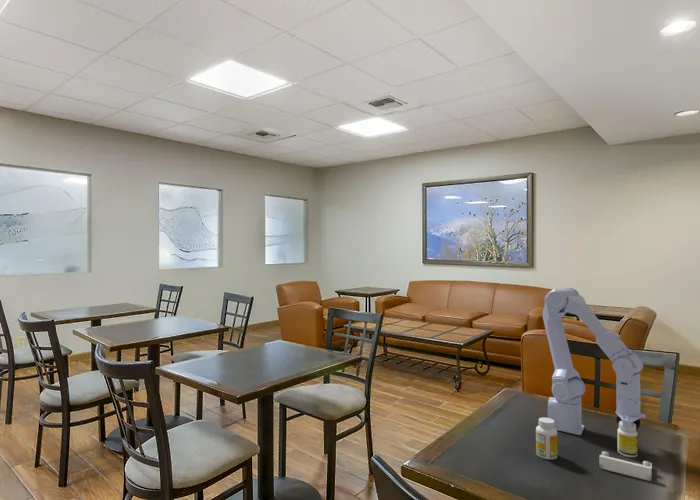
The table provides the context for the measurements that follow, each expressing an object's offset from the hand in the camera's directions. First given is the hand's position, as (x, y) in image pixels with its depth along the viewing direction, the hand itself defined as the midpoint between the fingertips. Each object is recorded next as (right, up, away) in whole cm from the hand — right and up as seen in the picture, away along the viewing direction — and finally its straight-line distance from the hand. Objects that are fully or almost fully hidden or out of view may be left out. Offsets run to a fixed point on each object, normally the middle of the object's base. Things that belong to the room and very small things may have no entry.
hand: (628, 444), depth 121 cm
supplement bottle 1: (-25, -1, -4) cm, 25 cm away
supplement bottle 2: (-2, -1, -3) cm, 4 cm away
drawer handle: (-8, -1, -10) cm, 13 cm away
